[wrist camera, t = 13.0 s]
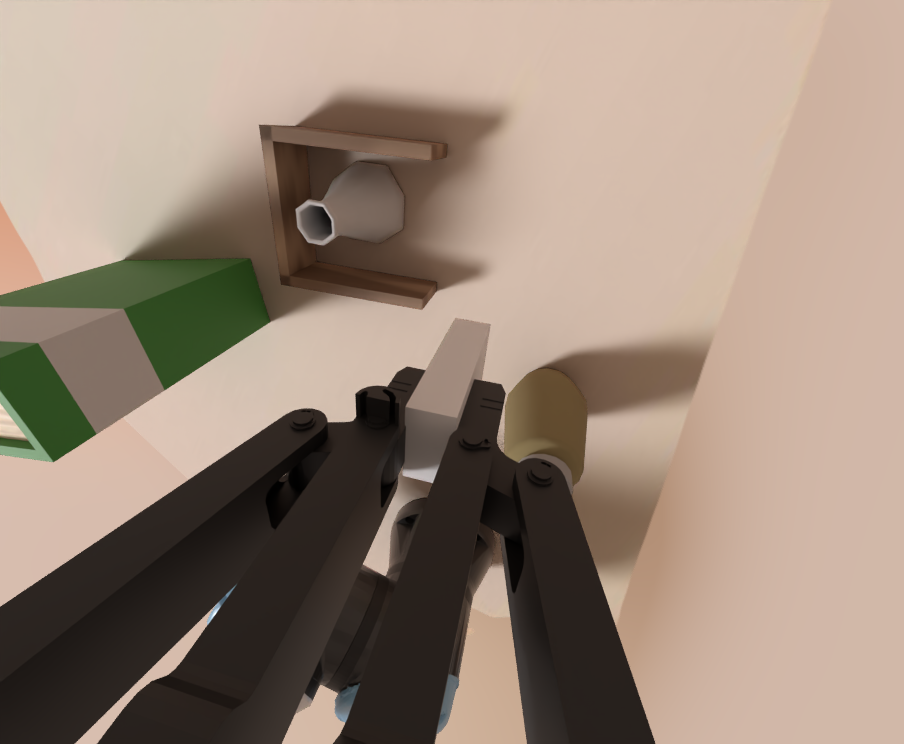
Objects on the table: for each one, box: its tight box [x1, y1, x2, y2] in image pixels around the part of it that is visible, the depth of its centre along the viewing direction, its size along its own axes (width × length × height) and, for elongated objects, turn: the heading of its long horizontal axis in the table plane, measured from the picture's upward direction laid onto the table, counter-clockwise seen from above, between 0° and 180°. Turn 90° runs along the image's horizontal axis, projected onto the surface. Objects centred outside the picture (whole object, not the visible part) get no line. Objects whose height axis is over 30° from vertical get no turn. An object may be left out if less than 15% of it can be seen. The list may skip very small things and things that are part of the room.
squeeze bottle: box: [504, 368, 588, 495], centre depth 36 cm, size 8×8×18 cm
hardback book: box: [0, 258, 270, 462], centre depth 37 cm, size 18×7×24 cm, turn 94°
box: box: [259, 125, 447, 310], centre depth 36 cm, size 13×14×5 cm
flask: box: [296, 161, 404, 245], centre depth 33 cm, size 7×7×10 cm
